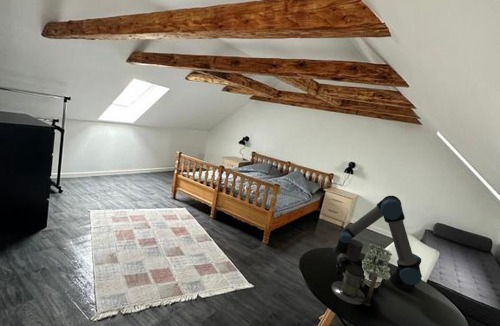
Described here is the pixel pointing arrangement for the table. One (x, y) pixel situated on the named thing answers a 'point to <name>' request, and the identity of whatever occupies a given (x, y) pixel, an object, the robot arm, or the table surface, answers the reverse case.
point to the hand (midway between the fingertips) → (354, 283)
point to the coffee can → (352, 280)
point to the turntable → (345, 297)
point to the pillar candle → (354, 250)
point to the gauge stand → (374, 278)
